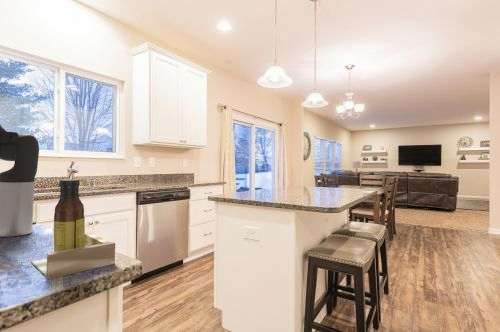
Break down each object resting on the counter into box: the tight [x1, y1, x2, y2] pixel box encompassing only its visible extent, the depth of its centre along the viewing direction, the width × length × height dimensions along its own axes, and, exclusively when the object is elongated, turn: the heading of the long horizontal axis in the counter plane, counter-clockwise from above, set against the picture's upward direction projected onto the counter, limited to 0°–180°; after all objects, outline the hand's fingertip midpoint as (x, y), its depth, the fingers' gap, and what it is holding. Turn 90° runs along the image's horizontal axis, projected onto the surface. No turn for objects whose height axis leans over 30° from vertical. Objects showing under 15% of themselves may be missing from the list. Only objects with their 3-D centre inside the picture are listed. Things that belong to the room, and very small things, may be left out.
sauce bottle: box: [53, 178, 86, 252], centre depth 66 cm, size 6×6×20 cm
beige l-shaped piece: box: [30, 232, 116, 280], centre depth 67 cm, size 14×14×5 cm
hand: (13, 137), depth 66 cm, fingers open, 8 cm apart
